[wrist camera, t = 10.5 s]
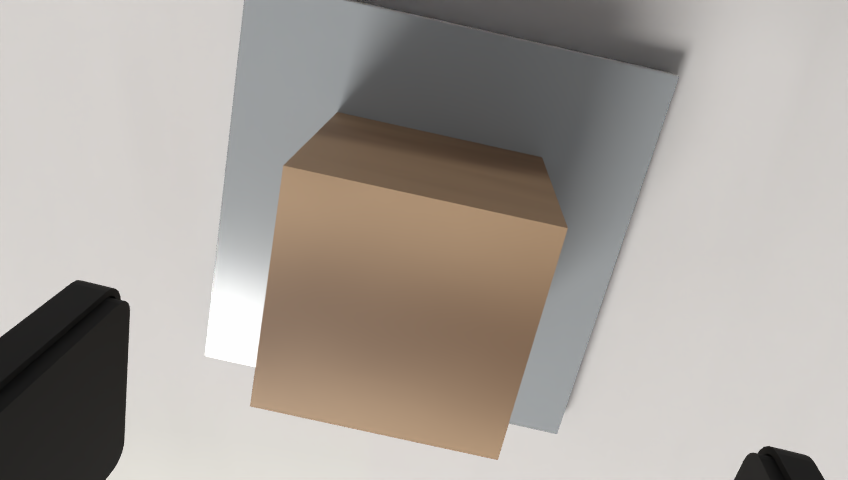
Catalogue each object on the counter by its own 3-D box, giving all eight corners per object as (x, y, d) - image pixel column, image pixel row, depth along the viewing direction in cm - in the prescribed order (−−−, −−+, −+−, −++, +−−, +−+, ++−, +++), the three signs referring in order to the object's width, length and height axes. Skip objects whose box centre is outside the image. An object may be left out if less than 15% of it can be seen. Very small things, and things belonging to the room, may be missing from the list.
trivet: (255, -22, 20) (246, -22, 19) (671, 72, 20) (679, 76, 19) (213, 344, 24) (204, 356, 23) (554, 420, 24) (556, 434, 23)
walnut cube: (337, 112, 20) (282, 165, 14) (541, 157, 20) (568, 228, 14) (307, 297, 22) (249, 406, 16) (492, 337, 22) (497, 459, 17)
